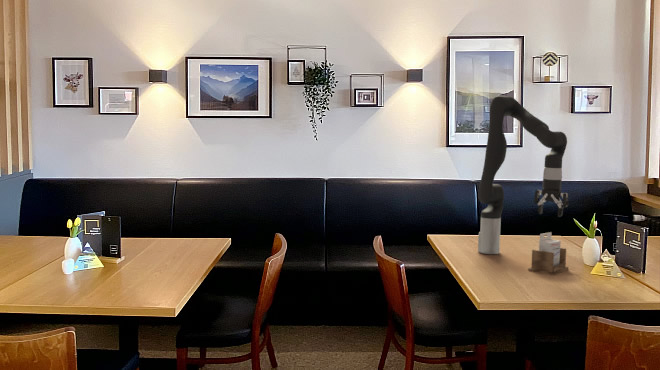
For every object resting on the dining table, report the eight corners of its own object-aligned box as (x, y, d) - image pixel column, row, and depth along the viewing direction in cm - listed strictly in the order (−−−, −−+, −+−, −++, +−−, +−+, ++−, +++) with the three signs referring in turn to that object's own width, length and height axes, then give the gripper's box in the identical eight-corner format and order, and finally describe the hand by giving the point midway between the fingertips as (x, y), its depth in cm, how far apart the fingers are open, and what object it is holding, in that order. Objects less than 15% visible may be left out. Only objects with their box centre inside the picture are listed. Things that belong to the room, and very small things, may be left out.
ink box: (547, 270, 253) (549, 235, 251) (537, 267, 257) (539, 233, 255) (559, 267, 257) (561, 233, 256) (549, 265, 262) (551, 231, 260)
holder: (528, 270, 256) (529, 249, 255) (543, 264, 266) (544, 244, 265) (553, 275, 248) (554, 254, 247) (568, 269, 259) (569, 248, 258)
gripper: (532, 177, 260) (530, 214, 262) (564, 180, 250) (562, 218, 252) (540, 176, 265) (538, 212, 267) (572, 179, 255) (569, 216, 257)
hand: (550, 215), depth 260 cm, fingers open, 8 cm apart
